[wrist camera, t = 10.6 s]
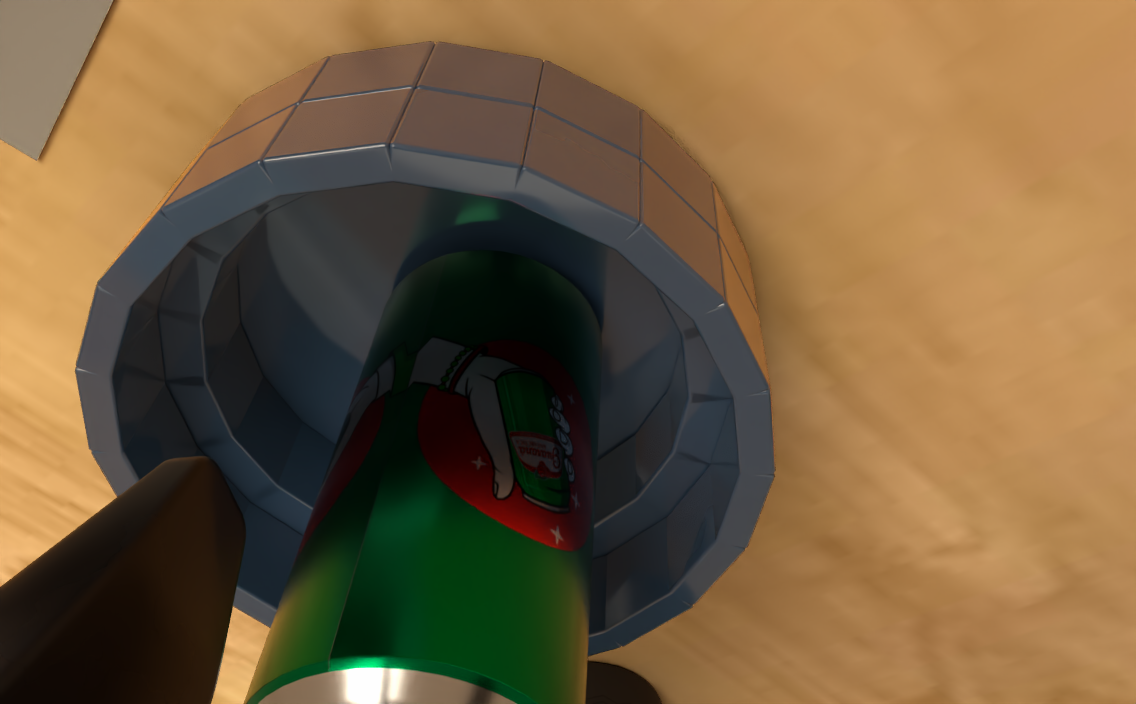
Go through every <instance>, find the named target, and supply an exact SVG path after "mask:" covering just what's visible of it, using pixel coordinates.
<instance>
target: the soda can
mask: <svg viewBox="0 0 1136 704" xmlns="http://www.w3.org/2000/svg"><path fill="white" fill-rule="evenodd" d="M602 352H603V345H602V336H601V331H600V327H599V324H598V321H597V318H596V316H595V314H594V312H593V310H592V308H591V306H590V304H589V303H588V302H587V300H586V299H585V298H584V296H583V295H582V294H581V292H580V291H579V290H578V289H577V288H576V287H575V286H574V285H573V284H572V283H570V282H569V281H568V280H567V279H566V278H565V277H563V276H562V275H560V274H559V273H557V272H556V271H555V270H553V269H551V268H549V267H548V266H546V265H544V264H542V263H540V262H538V261H535V260H533V259H530V258H527V257H524V256H521V255H518V254H513V253H508V252H504V251H495V250H469V251H461V252H456V253H451V254H447V255H444V256H441V257H438V258H436V259H433V260H430V261H429V262H427V263H425V264H423V265H421V266H420V267H418V268H416V269H415V270H414V271H412V272H411V273H410V274H409V275H407V276H406V277H405V278H404V279H403V280H402V281H401V282H400V283H399V284H398V286H397V287H396V288H395V289H394V290H393V292H392V294H391V296H390V297H389V299H388V301H387V303H386V305H385V308H384V311H383V313H382V316H381V319H380V322H379V325H378V328H377V330H376V333H375V336H374V339H373V342H372V344H371V347H370V350H369V353H368V356H367V358H366V361H365V364H364V367H363V370H362V373H361V375H360V378H359V381H358V384H357V387H356V389H355V392H354V395H353V398H352V401H351V403H350V406H349V409H348V412H347V415H346V417H345V420H344V423H343V426H342V429H341V432H340V434H339V437H338V440H337V443H336V446H335V448H334V451H333V454H332V457H331V460H330V462H329V465H328V468H327V471H326V474H325V476H324V479H323V482H322V485H321V488H320V491H319V493H318V496H317V499H316V502H315V505H314V507H313V510H312V513H311V516H310V519H309V521H308V524H307V527H306V530H305V533H304V536H303V538H302V541H301V544H300V547H299V550H298V552H297V555H296V558H295V561H294V564H293V566H292V569H291V572H290V575H289V578H288V580H287V583H286V586H285V589H284V592H283V595H282V597H281V600H280V603H279V606H278V609H277V611H276V614H275V617H274V620H273V623H272V625H271V628H270V631H269V634H268V637H267V640H266V642H265V645H264V648H263V651H262V654H261V656H260V659H259V662H258V665H257V668H256V670H255V673H254V676H253V679H252V682H251V684H250V687H249V690H248V693H247V696H246V699H245V701H244V704H585V700H586V680H587V659H588V639H589V618H590V598H591V577H592V557H593V536H594V516H595V495H596V475H597V454H598V434H599V413H600V393H601V372H602Z"/></svg>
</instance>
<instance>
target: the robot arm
mask: <svg viewBox="0 0 1136 704" xmlns="http://www.w3.org/2000/svg"><path fill="white" fill-rule="evenodd" d="M245 541H246V525H245V520H244V517H243V514H242V512H241V510H240V508H239V506H238V504H237V502H236V500H235V498H234V495H233V493H232V491H231V489H230V487H229V485H228V483H227V481H226V479H225V477H224V475H223V473H222V471H221V469H220V467H219V466H218V464H217V463H216V462H215V461H214V460H213V459H212V458H210V457H207V456H193V457H181V458H173V459H169V460H166V461H164V462H163V463H161V464H160V465H159V466H157V467H156V468H155V469H154V470H152V471H151V472H150V473H148V474H147V475H146V476H144V477H143V478H142V479H141V480H139V481H138V482H137V483H135V484H134V485H133V486H131V487H130V488H129V489H127V490H126V491H125V492H124V493H122V494H121V495H120V496H118V497H117V498H116V499H114V500H113V501H112V502H111V503H109V504H108V505H107V506H105V507H104V508H103V509H101V510H100V511H99V512H98V513H96V514H95V515H94V516H92V517H91V518H90V519H88V520H87V521H86V522H84V523H83V524H82V525H81V526H79V527H78V528H77V529H75V530H74V531H73V532H71V533H70V534H69V535H68V536H66V537H65V538H64V539H62V540H61V541H60V542H58V543H57V544H56V545H55V546H53V547H52V548H51V549H49V550H48V551H47V552H45V553H44V554H43V555H41V556H40V557H39V558H38V559H36V560H35V561H34V562H32V563H31V564H30V565H28V566H27V567H26V568H25V569H23V570H22V571H21V572H19V573H18V574H17V575H15V576H14V577H13V578H12V579H10V580H9V581H8V582H6V583H5V584H4V585H2V586H1V587H0V704H211V701H212V698H213V694H214V691H215V688H216V684H217V680H218V675H219V671H220V667H221V663H222V658H223V653H224V648H225V643H226V638H227V633H228V628H229V623H230V618H231V613H232V608H233V603H234V597H235V592H236V587H237V582H238V577H239V572H240V567H241V562H242V557H243V552H244V547H245Z"/></svg>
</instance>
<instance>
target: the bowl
mask: <svg viewBox="0 0 1136 704" xmlns="http://www.w3.org/2000/svg"><path fill="white" fill-rule="evenodd" d="M469 250H495V251H504V252H508V253H513V254H518V255H521V256H524V257H527V258H530V259H533V260H535V261H538V262H540V263H542V264H544V265H546V266H548V267H549V268H551V269H553V270H555V271H556V272H557V273H559V274H560V275H562V276H563V277H565V278H566V279H567V280H568V281H569V282H570V283H572V284H573V285H574V286H575V287H576V288H577V289H578V290H579V291H580V292H581V294H582V295H583V296H584V298H585V299H586V300H587V302H588V303H589V304H590V306H591V308H592V310H593V312H594V314H595V316H596V318H597V321H598V324H599V327H600V331H601V336H602V345H603V352H602V372H601V393H600V413H599V434H598V454H597V475H596V495H595V516H594V536H593V557H592V577H591V598H590V618H589V639H588V656H591V655H594V654H598V653H602V652H605V651H609V650H613V649H616V648H620V647H621V646H626V645H627V644H629V643H631V642H633V641H634V640H636V639H638V638H640V637H641V636H643V635H645V634H647V633H648V632H650V631H652V630H654V629H656V628H657V627H659V626H661V625H663V624H664V623H666V622H668V621H670V620H671V619H673V618H675V617H677V616H678V615H680V614H682V613H684V612H686V611H687V610H689V609H691V608H692V607H693V605H694V604H696V603H697V602H698V601H699V600H700V598H701V597H702V596H703V595H704V594H705V593H706V592H707V591H708V590H709V589H710V588H711V587H712V585H713V584H714V583H715V582H716V581H717V580H718V579H719V578H720V577H721V576H722V575H723V574H724V572H725V571H726V570H727V569H728V568H729V567H730V566H731V565H732V564H733V563H734V562H735V561H736V559H737V558H738V557H739V556H740V555H741V554H742V553H743V552H744V551H745V548H747V547H748V545H749V542H750V540H751V537H752V534H753V532H754V529H755V527H756V524H757V521H758V519H759V516H760V514H761V511H762V508H763V506H764V503H765V501H766V498H767V495H768V493H769V490H770V488H771V485H772V482H773V480H774V477H775V470H776V467H775V450H774V432H773V415H772V397H771V387H770V381H769V375H768V369H767V363H766V357H765V351H764V345H763V339H762V332H761V326H760V323H759V314H758V308H757V302H756V296H755V290H754V284H753V278H752V272H751V266H750V262H749V258H748V254H747V252H746V250H745V248H744V246H743V244H742V242H741V240H740V237H739V235H738V233H737V231H736V229H735V227H734V225H733V223H732V221H731V218H730V216H729V214H728V212H727V210H726V208H725V206H724V204H723V202H722V199H721V197H720V195H719V193H718V191H717V189H716V187H715V185H714V183H713V182H712V181H711V178H710V176H709V175H708V174H707V173H706V172H705V171H704V170H703V169H702V168H701V167H700V166H699V165H698V164H697V163H696V162H695V161H694V160H693V159H692V158H691V157H690V156H689V155H688V154H687V153H686V152H685V151H684V150H683V149H682V148H681V147H680V146H679V145H678V144H677V143H676V142H675V141H674V140H673V139H672V138H671V137H670V136H669V135H668V134H667V133H666V132H665V131H664V130H663V129H662V128H661V127H660V126H659V125H658V124H657V123H656V122H655V121H654V120H653V119H652V118H651V117H650V116H649V115H648V114H647V113H646V112H645V111H644V110H642V109H640V108H639V107H638V106H636V105H634V104H632V103H630V102H628V101H626V100H624V99H622V98H620V97H618V96H616V95H614V94H612V93H610V92H608V91H606V90H604V89H603V88H601V87H599V86H597V85H595V84H593V83H591V82H589V81H587V80H585V79H583V78H581V77H579V76H577V75H575V74H573V73H571V72H569V71H567V70H565V69H563V68H561V67H559V66H557V65H555V64H553V63H551V62H549V61H546V60H545V61H544V62H543V60H541V59H539V58H533V57H527V56H521V55H515V54H509V53H504V52H498V51H492V50H486V49H480V48H474V47H468V46H462V45H457V44H451V43H445V42H436V44H435V43H434V42H431V41H429V42H422V43H415V44H408V45H401V46H394V47H387V48H380V49H373V50H366V51H359V52H352V53H345V54H338V55H333V56H331V57H330V56H328V57H325V58H323V59H321V60H320V61H318V62H316V63H314V64H312V65H310V66H308V67H306V68H304V69H302V70H301V71H299V72H297V73H295V74H293V75H291V76H289V77H287V78H285V79H283V80H282V81H280V82H278V83H276V84H274V85H272V86H270V87H268V88H266V89H264V90H263V91H261V92H259V93H257V94H255V95H253V96H251V97H249V98H247V99H246V100H245V101H244V102H243V104H240V105H239V107H238V108H237V109H236V110H235V111H234V112H233V114H232V115H231V116H230V117H229V118H228V120H227V121H226V122H225V123H224V124H223V125H222V127H221V128H220V129H219V130H218V131H217V133H216V134H215V135H214V136H213V137H212V138H211V140H210V141H209V142H208V143H207V144H206V146H205V147H204V148H203V149H202V150H201V151H200V153H199V154H198V155H197V156H196V157H195V159H194V160H193V161H192V162H191V163H190V164H189V166H188V167H187V168H186V170H185V171H184V172H183V173H182V175H181V176H180V177H179V178H178V180H177V181H176V182H175V184H174V185H173V186H172V187H171V189H170V190H169V191H168V192H167V194H166V195H165V196H164V198H163V199H162V200H161V201H160V203H159V204H158V205H157V206H156V208H155V209H154V210H153V212H152V213H151V214H150V216H149V217H148V218H147V219H146V220H145V222H144V223H143V224H142V225H141V227H140V228H139V229H138V231H137V232H136V233H135V234H134V236H133V237H132V238H131V240H130V241H129V242H128V243H127V245H126V246H125V247H124V248H123V250H122V251H121V252H120V254H119V255H118V256H117V257H116V259H115V260H114V261H113V262H112V264H111V265H110V266H109V268H108V269H107V270H106V271H105V273H104V274H103V275H102V276H101V278H100V279H99V280H98V282H97V285H96V288H95V292H94V296H93V299H92V303H91V307H90V311H89V315H88V319H87V322H86V326H85V330H84V334H83V338H82V342H81V346H80V349H79V353H78V357H77V361H76V368H75V373H76V379H77V384H78V390H79V395H80V401H81V406H82V412H83V418H84V423H85V429H86V434H87V440H88V445H89V449H90V450H91V452H92V455H93V457H94V458H95V460H96V462H97V464H98V465H99V467H100V469H101V470H102V472H103V474H104V475H105V477H106V479H107V480H108V482H109V484H110V486H111V487H112V489H113V491H114V492H115V494H116V496H117V497H118V496H120V495H121V494H122V493H124V492H125V491H126V490H127V489H129V488H130V487H131V486H133V485H134V484H135V483H137V482H138V481H139V480H141V479H142V478H143V477H144V476H146V475H147V474H148V473H150V472H151V471H152V470H154V469H155V468H156V467H157V466H159V465H160V464H161V463H163V462H164V461H166V460H169V459H173V458H181V457H193V456H207V457H210V458H212V459H213V460H214V461H215V462H216V463H217V464H218V466H219V467H220V469H221V471H222V473H223V475H224V477H225V479H226V481H227V483H228V485H229V487H230V489H231V491H232V493H233V495H234V498H235V500H236V502H237V504H238V506H239V508H240V510H241V512H242V514H243V517H244V520H245V525H246V541H245V547H244V552H243V557H242V562H241V567H240V572H239V577H238V582H237V587H236V592H235V597H234V603H233V607H235V608H237V609H238V610H240V611H242V612H244V613H245V614H247V615H249V616H250V617H252V618H254V619H256V620H257V621H259V622H261V623H262V624H264V625H266V626H268V627H269V628H271V625H272V623H273V620H274V617H275V614H276V611H277V609H278V606H279V603H280V600H281V597H282V595H283V592H284V589H285V586H286V583H287V580H288V578H289V575H290V572H291V569H292V566H293V564H294V561H295V558H296V555H297V552H298V550H299V547H300V544H301V541H302V538H303V536H304V533H305V530H306V527H307V524H308V521H309V519H310V516H311V513H312V510H313V507H314V505H315V502H316V499H317V496H318V493H319V491H320V488H321V485H322V482H323V479H324V476H325V474H326V471H327V468H328V465H329V462H330V460H331V457H332V454H333V451H334V448H335V446H336V443H337V440H338V437H339V434H340V432H341V429H342V426H343V423H344V420H345V417H346V415H347V412H348V409H349V406H350V403H351V401H352V398H353V395H354V392H355V389H356V387H357V384H358V381H359V378H360V375H361V373H362V370H363V367H364V364H365V361H366V358H367V356H368V353H369V350H370V347H371V344H372V342H373V339H374V336H375V333H376V330H377V328H378V325H379V322H380V319H381V316H382V313H383V311H384V308H385V305H386V303H387V301H388V299H389V297H390V296H391V294H392V292H393V290H394V289H395V288H396V287H397V286H398V284H399V283H400V282H401V281H402V280H403V279H404V278H405V277H406V276H407V275H409V274H410V273H411V272H412V271H414V270H415V269H416V268H418V267H420V266H421V265H423V264H425V263H427V262H429V261H430V260H433V259H436V258H438V257H441V256H444V255H447V254H451V253H456V252H461V251H469Z"/></svg>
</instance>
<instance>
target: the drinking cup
mask: <svg viewBox="0 0 1136 704" xmlns="http://www.w3.org/2000/svg"><path fill="white" fill-rule="evenodd" d="M585 704H662V703H661V700H660V698H659V696H658V694H657V692H656V691H655V690H654V688H653V687H652V686H651V685H650V684H649V683H648V682H646V681H645V680H644V679H642V678H641V677H639V676H638V675H636V674H634V673H632V672H630V671H628V670H625V669H623V668H620V667H617V666H613V665H609V664H604V663H596V662H587V680H586V700H585Z"/></svg>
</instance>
